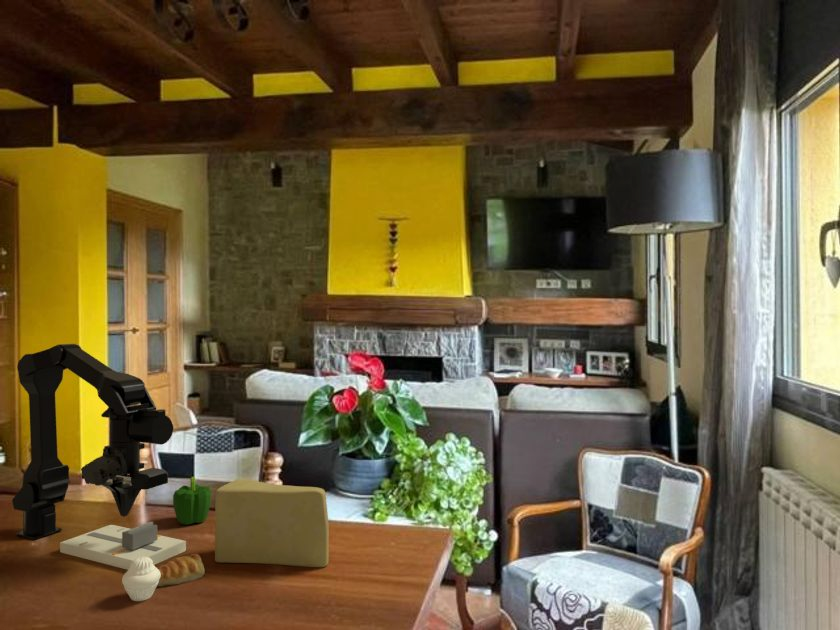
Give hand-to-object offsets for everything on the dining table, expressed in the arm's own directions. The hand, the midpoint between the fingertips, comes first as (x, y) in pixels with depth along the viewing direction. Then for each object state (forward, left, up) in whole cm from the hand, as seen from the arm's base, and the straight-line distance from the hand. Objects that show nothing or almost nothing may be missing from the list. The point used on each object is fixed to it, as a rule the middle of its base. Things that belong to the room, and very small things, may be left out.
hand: (124, 516), depth 130 cm
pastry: (+20, -4, -8) cm, 22 cm away
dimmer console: (0, 0, -7) cm, 7 cm away
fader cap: (+5, 0, -5) cm, 7 cm away
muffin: (+20, -13, -8) cm, 25 cm away
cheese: (+30, +10, -8) cm, 33 cm away
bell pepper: (-1, +20, -8) cm, 21 cm away
